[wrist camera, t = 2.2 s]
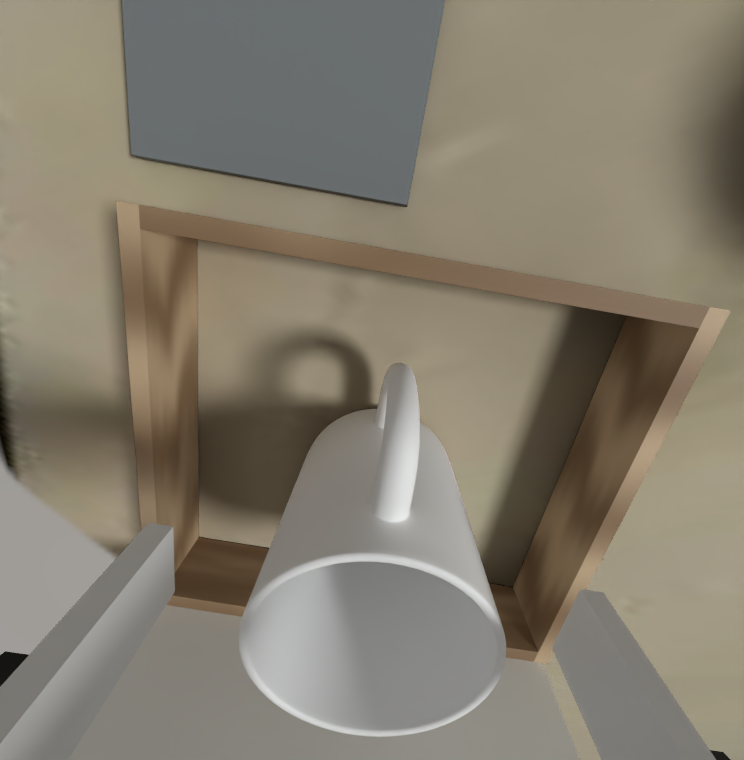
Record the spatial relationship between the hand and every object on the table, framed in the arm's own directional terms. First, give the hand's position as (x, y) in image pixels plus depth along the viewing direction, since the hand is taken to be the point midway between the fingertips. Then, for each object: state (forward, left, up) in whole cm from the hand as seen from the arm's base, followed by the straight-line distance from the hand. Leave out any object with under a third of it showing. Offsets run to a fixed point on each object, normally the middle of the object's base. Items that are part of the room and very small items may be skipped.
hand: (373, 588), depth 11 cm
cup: (0, 0, -9) cm, 9 cm away
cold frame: (0, 0, -9) cm, 9 cm away
